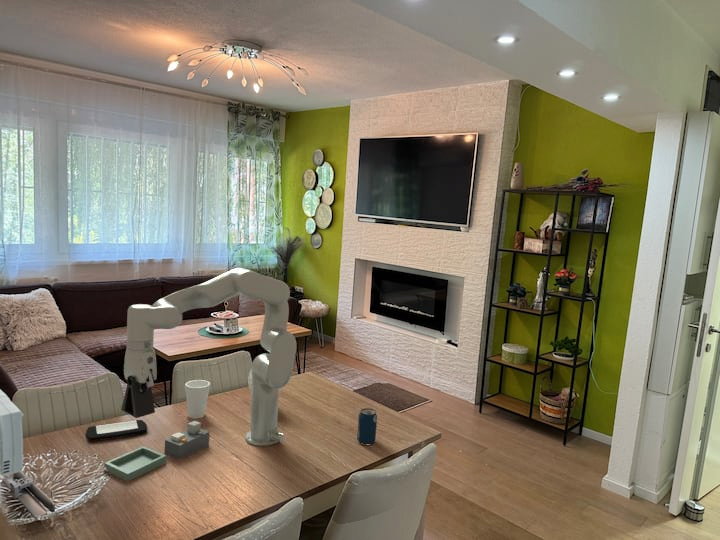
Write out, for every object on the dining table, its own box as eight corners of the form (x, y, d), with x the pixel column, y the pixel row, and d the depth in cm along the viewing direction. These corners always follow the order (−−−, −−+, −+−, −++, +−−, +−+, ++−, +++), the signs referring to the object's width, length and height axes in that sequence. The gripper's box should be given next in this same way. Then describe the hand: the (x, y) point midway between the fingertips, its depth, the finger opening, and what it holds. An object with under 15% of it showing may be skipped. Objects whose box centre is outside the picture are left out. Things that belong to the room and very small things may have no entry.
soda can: (378, 442, 183) (381, 412, 182) (366, 448, 178) (369, 416, 177) (365, 436, 188) (367, 406, 186) (352, 441, 183) (355, 410, 181)
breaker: (200, 432, 170) (200, 422, 170) (193, 435, 168) (194, 425, 167) (194, 430, 172) (194, 420, 171) (187, 433, 169) (187, 423, 169)
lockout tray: (166, 462, 157) (166, 455, 157) (127, 481, 145) (127, 474, 145) (143, 452, 162) (143, 446, 162) (104, 470, 150) (104, 462, 150)
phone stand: (121, 409, 152) (122, 372, 151) (139, 404, 157) (140, 368, 156) (136, 418, 147) (137, 380, 146) (154, 413, 152) (156, 375, 151)
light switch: (143, 416, 187) (149, 427, 175) (143, 423, 187) (149, 435, 176) (85, 424, 177) (87, 436, 165) (84, 432, 177) (86, 445, 165)
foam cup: (213, 414, 196) (215, 383, 195) (194, 422, 189) (196, 389, 187) (197, 408, 201) (199, 378, 200) (179, 415, 194) (180, 383, 192)
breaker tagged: (184, 444, 164) (184, 434, 164) (177, 447, 162) (177, 437, 161) (178, 442, 166) (178, 432, 165) (170, 445, 163) (171, 435, 163)
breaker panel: (208, 445, 171) (209, 430, 170) (179, 460, 159) (179, 443, 159) (194, 439, 174) (195, 424, 174) (164, 453, 163) (165, 438, 162)
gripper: (167, 347, 150) (165, 404, 151) (134, 337, 157) (132, 392, 159) (146, 352, 143) (145, 412, 145) (112, 342, 150) (111, 399, 152)
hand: (138, 401), depth 152 cm, fingers closed on phone stand
